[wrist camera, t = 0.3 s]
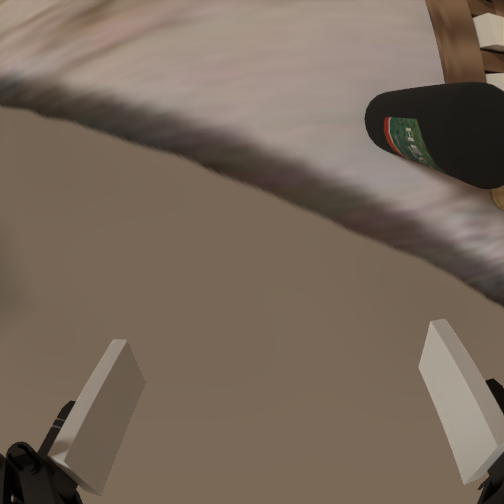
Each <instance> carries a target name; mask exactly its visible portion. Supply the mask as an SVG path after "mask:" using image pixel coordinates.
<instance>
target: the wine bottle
mask: <svg viewBox="0 0 504 504" xmlns="http://www.w3.org/2000/svg"><path fill="white" fill-rule="evenodd" d="M365 125H366V130H367V132H368V134H369V137H370V138H371V139H372V141H373V142H374V143H375V144H376V145H377V146H379V147H380V148H382V149H383V150H385V151H388V152H391V153H394V154H397V155H399V156H402V157H405V158H408V159H410V160H413V161H416V162H418V163H421V164H423V165H426V166H428V167H431V168H433V169H436V170H438V171H440V172H443V173H445V174H448V175H450V176H452V177H454V178H457V179H459V180H461V181H463V182H466V183H468V184H470V185H473V186H476V187H479V188H482V189H496V188H499V187H501V186H503V185H504V91H503V90H501V89H500V88H498V87H496V86H494V85H493V84H488V83H483V82H475V81H473V82H460V83H450V84H440V85H432V86H424V87H417V88H410V89H403V90H397V91H391V92H385V93H383V94H380V95H377V96H376V97H375V98H374V99H373V100H372V101H371V102H370V104H369V105H368V107H367V109H366V114H365Z"/></svg>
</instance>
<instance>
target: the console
mask: <svg viewBox="0 0 504 504" xmlns="http://www.w3.org/2000/svg"><path fill="white" fill-rule="evenodd" d="M425 2H426V5H427V8H428V12H429V15H430V18H431V22H432V26H433V29H434V33H435V37H436V41H437V45H438V50H439V54H440V59H441V64H442V69H443V74H444V80H445V84H450V83H460V82H473V81H475V82H483V83H486V77H485V74H495V73H504V51H502V52H490V51H484V50H480V47H479V43H478V39H477V35H476V31H475V27H474V23H473V20H472V18H475V17H477V16H480V15H483V14H486V13H490V14H494V15H498V16H501V17H504V0H486V1H484V0H425Z"/></svg>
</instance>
